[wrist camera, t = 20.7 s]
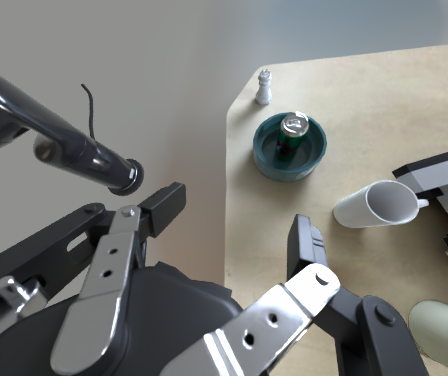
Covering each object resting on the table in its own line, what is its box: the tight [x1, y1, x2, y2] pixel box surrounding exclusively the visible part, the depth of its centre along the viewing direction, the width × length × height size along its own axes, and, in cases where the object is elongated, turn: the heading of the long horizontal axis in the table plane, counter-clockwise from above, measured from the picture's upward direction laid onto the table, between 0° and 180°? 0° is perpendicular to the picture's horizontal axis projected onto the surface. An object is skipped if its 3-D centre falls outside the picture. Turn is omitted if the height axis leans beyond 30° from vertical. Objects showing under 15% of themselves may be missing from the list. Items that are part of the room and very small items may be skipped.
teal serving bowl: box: [253, 112, 327, 182], centre depth 40 cm, size 15×15×6 cm
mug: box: [334, 180, 429, 228], centre depth 31 cm, size 10×7×12 cm, turn 88°
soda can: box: [274, 113, 309, 162], centre depth 37 cm, size 5×5×12 cm
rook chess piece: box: [256, 70, 272, 105], centre depth 45 cm, size 4×4×8 cm
